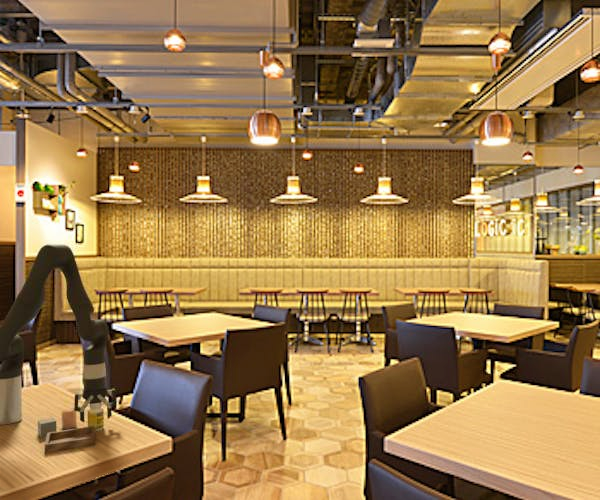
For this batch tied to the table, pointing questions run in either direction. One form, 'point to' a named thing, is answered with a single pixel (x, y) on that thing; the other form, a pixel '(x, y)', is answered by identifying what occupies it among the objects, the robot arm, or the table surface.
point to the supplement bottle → (96, 416)
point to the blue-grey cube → (46, 426)
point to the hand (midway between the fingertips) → (96, 419)
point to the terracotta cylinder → (69, 419)
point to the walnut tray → (70, 439)
